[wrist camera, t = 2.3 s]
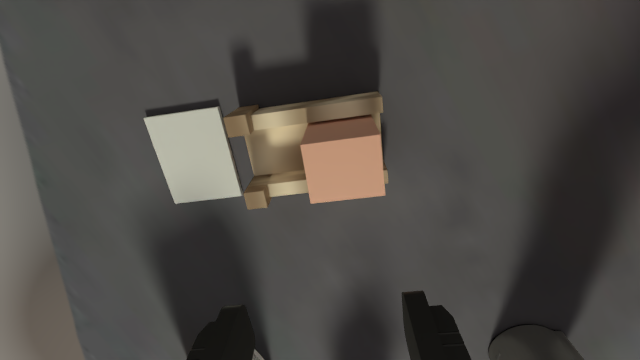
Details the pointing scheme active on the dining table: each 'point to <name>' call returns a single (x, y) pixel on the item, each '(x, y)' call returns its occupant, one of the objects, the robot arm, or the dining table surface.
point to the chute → (289, 140)
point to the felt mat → (195, 154)
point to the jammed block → (343, 159)
